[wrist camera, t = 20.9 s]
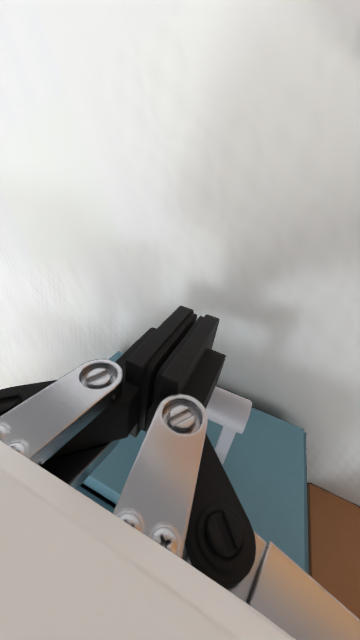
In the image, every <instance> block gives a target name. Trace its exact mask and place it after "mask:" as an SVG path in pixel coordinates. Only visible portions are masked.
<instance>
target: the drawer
mask: <svg viewBox="0 0 360 640" xmlns="http://www.w3.org/2000/svg"><path fill="white" fill-rule="evenodd" d="M122 355H123V353H121V352H117V353H116V354H115V355H113V356H112V357H111V358H110V359H109V360H111V361H113V362H115V361H116V360H117V359H119V358H120V357H121V356H122ZM206 412H207V415H208V424H207V430H206V433H207V436H208V438H209V440H210V442H211V444H212V446H213V448H214V450H215V452H216V454H217V456H218V458H219V460H220V462H221V464H222V466H223V468H224V470H225V472H226V474H227V476H228V478H229V480H230V482H231V484H232V486H233V488H234V490H235V492H236V494H237V496H238V498H239V500H240V503H241V505H242V507H243V509H244V511H245V513H246V515H247V517H248V519H249V521H250V523H251V526H252V529H253V531H254V532H255V533H257V534H258V535H259V536H260V537H261V538H262V539H263V540H264V541H266V542H267V543H268V542H269V541H271V542H272V543H273V544H274V545H276V546H277V547H278V548H279V549H280V550H281V551H282V552H284V553H285V554H286V555H287V556H288V557H289V558H290V559H291V560H293V561H294V562H295V563H296V564H297V565H298V566H299V567H301V568H302V569H303V570H304V571H305V561H304V433H303V429H302V428H300V427H297V426H295V425H293V424H290V423H288V422H286V421H283V420H281V419H278V418H276V417H274V416H271V415H269V414H266V413H264V412H262V411H259V410H257V409H255V408H252V401H250V400H248V399H246V398H243V397H241V396H238V395H236V394H233V393H231V392H229V391H226V390H224V389H221V388H219V387H216V386H215V389H214V391H213V393H212V396H211V398H210V401H209V403H208V405H207V408H206ZM145 434H146V431H145V432H144V431H143V430H141V431H140V432H139V434H138V435H137V437H134V436H132V435H130V434H129V436H128V437H127V438H123V439H120V441H119V443H118V444H117V446H116V447H115V448H114V449H113V450H112V452H111V453H110V454H109V455H108V456H107V457H106V458H105V459H104V460H103V461H102V462H101V463H100V464H99V466H98V467H97V468H96V469H95V470H94V471H93V472H92V473H91V474H90V475H89V476H88V477H87V478H86V480H85V481H84V482H83V483H82V484H81V485H80V486H81V487H83V488H84V489H86V490H88V491H89V492H91V493H92V494H94V495H95V496H97V497H98V498H100V499H102V500H103V501H105V502H106V503H108V504H109V505H111V506H112V507H114V508H115V507H116V504H117V502H118V500H119V497H120V495H121V493H122V490H123V488H124V486H125V483H126V481H127V479H128V476H129V474H130V471H131V469H132V467H133V464H134V462H135V460H136V457H137V455H138V453H139V450H140V448H141V446H142V443H143V441H144V439H145Z"/></svg>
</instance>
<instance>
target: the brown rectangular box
mask: <svg viewBox="0 0 360 640" xmlns="http://www.w3.org/2000/svg"><path fill="white" fill-rule="evenodd" d="M307 522H308V574H309V575H310V576H311V577H312V578H313V579H314V580H315V581H317V582H318V583H319V584H320V585H321V586H322V587H323V588H324V589H326V590H327V591H328V592H329V593H330V594H331V595H332V596H334V597H335V598H336V599H337V600H338V601H339V602H340V603H342V604H343V605H344V606H345V607H346V608H347V609H348V610H349V611H351V612H352V613H353V614H354V615H355V616H356V617H357V618H358V619H359V620H360V507H359V506H356V505H354V504H352V503H350V502H348V501H346V500H344V499H342V498H340V497H338V496H335V495H333V494H331V493H329V492H327V491H325V490H323V489H321V488H319V487H317V486H315V485H312V484H310V483H309V484H308V485H307Z"/></svg>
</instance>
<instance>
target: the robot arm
mask: <svg viewBox="0 0 360 640" xmlns="http://www.w3.org/2000/svg"><path fill="white" fill-rule="evenodd" d="M193 313H194V311H193V310H192V309H189V308H186V307H183V306H179V307H178V308H177V309H176V310H175V311H174V312H173V313H172V314H171V315H170V316H169V317H168V318H167V319H166V320H165V321H164V322H163V323H162V324H161V325H160V326H159V327H158V328H157V329H156V328H151V329H149V330H148V331H147V332H146V333H145V334H144V335H143V336H142V337H141V338H140V339H139V340H137V341H136V342H135V343H134V344H133V345H132V346H131V347H130V348H129V349H128V350H127V351H126V352H125V353H124V354H123V355H122V356H121V357H120V358H119V359H117V360H116V361H115V362H113V361H111V360H106V359H96V360H92V361H88V362H86V363H84V364H82V365H81V366H79V367H78V368H76V369H74V370H73V371H71V372H70V373H68V374H67V375H65V376H63V377H62V378H60V379H59V380H53V381H47V382H41V383H34V384H28V385H22V386H15V387H9V388H5V389H1V390H0V640H360V620H359V619H358V618H357V617H356V616H355V615H354V614H353V613H352V612H351V611H349V610H348V609H347V608H346V607H345V606H344V605H343V604H342V603H340V602H339V601H338V600H337V599H336V598H335V597H334V596H332V595H331V594H330V593H329V592H328V591H327V590H326V589H324V588H323V587H322V586H321V585H320V584H319V583H318V582H317V581H315V580H314V579H313V578H312V577H311V576H310V575H309V574H307V573H306V572H305V571H304V570H303V569H302V568H301V567H299V566H298V565H297V564H296V563H295V562H294V561H293V560H291V559H290V558H289V557H288V556H287V555H286V554H285V553H284V552H282V551H281V550H280V549H279V548H278V547H277V546H276V545H274V544H273V543H272V542H271V541H269V542H268V543H267V542H266V541H264V540H263V539H262V538H261V537H260V536H259V535H258V534H257V533H255V532H254V531H253V529H252V526H251V523H250V521H249V519H248V517H247V515H246V513H245V511H244V509H243V507H242V505H241V503H240V500H239V498H238V496H237V494H236V492H235V490H234V488H233V486H232V484H231V482H230V480H229V478H228V476H227V474H226V472H225V470H224V468H223V466H222V464H221V462H220V460H219V458H218V456H217V454H216V452H215V450H214V448H213V446H212V444H211V442H210V440H209V438H208V436H207V433H206V430H207V424H208V415H207V412H206V408H207V405H208V403H209V401H210V398H211V396H212V393H213V391H214V389H215V386H216V384H217V381H218V378H219V375H220V373H221V370H222V367H223V364H224V360H225V357H226V355H224V354H221V353H219V352H216V351H213V350H211V349H212V345H213V342H214V338H215V334H216V331H217V327H218V324H219V318H216V317H213V316H210V315H207V314H206V315H205V317H202V316H200V317H199V318H198V319H197V315H196V314H193ZM196 319H197V321H196ZM141 430H143V431H144V432H145V431H146V434H145V439H144V441H143V443H142V446H141V448H140V450H139V453H138V455H137V457H136V460H135V462H134V464H133V467H132V469H131V471H130V474H129V476H128V479H127V481H126V483H125V486H124V488H123V490H122V493H121V495H120V497H119V500H118V502H117V504H116V507H115V509H114V511H113V514H112V513H111V512H109V511H108V510H106V509H105V508H103V507H102V506H100V505H99V504H97V503H96V502H94V501H93V500H91V499H90V498H88V497H86V496H85V495H83V494H82V493H80V492H79V491H77V490H76V489H77V488H78V487H79V486H80V485H81V484H82V483H83V482H84V481H85V480H86V478H87V477H88V476H89V475H90V474H91V473H92V472H93V471H94V470H95V469H96V468H97V467H98V466H99V464H100V463H101V462H102V461H103V460H104V459H105V458H106V457H107V456H108V455H109V454H110V453H111V452H112V450H113V449H114V448H115V447H116V446H117V444H118V443H119V441H120V439H123V438H127V437H128V436H129V434H130V435H132V436H134V437H137V435H138V434H139V432H140V431H141Z"/></svg>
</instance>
